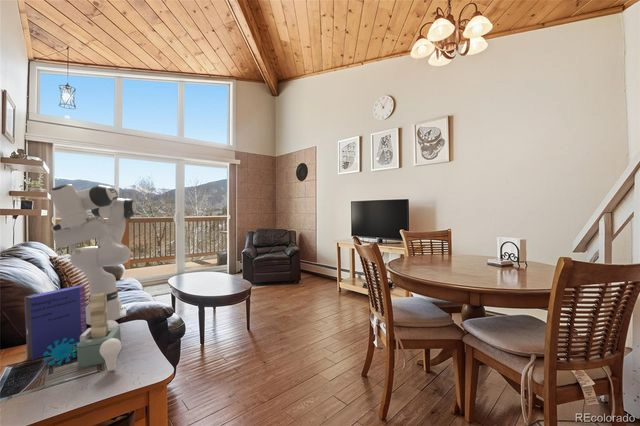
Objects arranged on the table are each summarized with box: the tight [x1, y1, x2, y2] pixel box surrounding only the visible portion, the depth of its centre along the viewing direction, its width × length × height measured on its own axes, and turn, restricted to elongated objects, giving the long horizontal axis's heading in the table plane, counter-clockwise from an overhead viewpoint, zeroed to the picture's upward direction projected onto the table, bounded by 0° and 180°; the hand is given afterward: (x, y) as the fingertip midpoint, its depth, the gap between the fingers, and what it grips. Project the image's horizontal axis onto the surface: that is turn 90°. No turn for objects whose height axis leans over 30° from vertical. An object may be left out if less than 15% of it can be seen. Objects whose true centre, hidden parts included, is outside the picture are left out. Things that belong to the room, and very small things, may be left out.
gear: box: [43, 338, 78, 367], centre depth 106 cm, size 11×6×10 cm
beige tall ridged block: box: [89, 292, 108, 339], centre depth 107 cm, size 4×4×24 cm
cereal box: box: [23, 284, 88, 361], centre depth 115 cm, size 17×5×24 cm, turn 154°
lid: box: [76, 326, 121, 348], centre depth 107 cm, size 12×10×3 cm
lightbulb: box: [100, 338, 122, 372], centre depth 96 cm, size 6×6×11 cm
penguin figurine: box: [108, 320, 119, 329], centre depth 119 cm, size 6×8×12 cm
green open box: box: [76, 330, 122, 369], centre depth 107 cm, size 12×10×7 cm
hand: (89, 250), depth 124 cm, fingers open, 8 cm apart
